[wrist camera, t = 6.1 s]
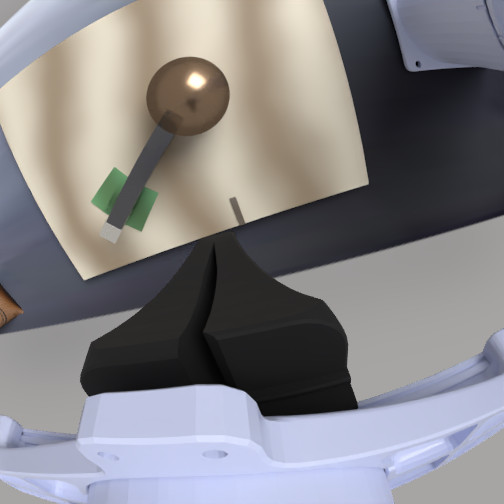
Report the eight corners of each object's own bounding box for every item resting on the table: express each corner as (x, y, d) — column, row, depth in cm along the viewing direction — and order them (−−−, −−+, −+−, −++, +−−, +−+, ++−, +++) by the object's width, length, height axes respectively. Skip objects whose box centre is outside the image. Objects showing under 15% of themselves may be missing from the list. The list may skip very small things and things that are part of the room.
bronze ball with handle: (182, 47, 14) (176, 42, 12) (242, 83, 16) (246, 84, 13) (94, 203, 18) (78, 223, 16) (145, 232, 20) (136, 255, 17)
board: (299, -39, 13) (305, -45, 11) (361, 178, 21) (369, 184, 20) (0, 95, 14) (-11, 97, 13) (88, 271, 23) (83, 281, 22)
